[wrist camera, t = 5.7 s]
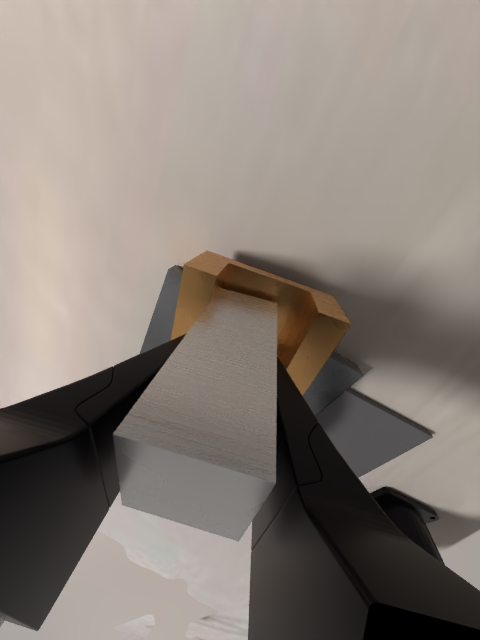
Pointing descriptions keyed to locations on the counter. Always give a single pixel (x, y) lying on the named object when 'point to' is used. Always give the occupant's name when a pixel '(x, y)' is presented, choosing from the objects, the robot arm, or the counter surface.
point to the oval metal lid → (292, 311)
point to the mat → (368, 431)
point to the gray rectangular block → (207, 422)
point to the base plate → (319, 393)
